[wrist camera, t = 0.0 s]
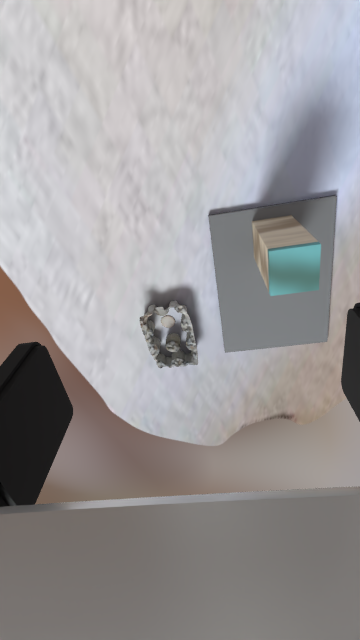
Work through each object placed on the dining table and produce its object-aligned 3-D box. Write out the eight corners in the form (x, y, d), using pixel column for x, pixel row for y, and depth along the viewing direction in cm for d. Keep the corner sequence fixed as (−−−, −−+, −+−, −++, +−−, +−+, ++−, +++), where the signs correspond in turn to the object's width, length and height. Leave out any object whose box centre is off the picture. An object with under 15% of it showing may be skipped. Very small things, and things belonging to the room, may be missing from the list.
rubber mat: (208, 215, 44) (208, 216, 44) (334, 195, 42) (336, 196, 42) (224, 350, 55) (225, 352, 54) (326, 339, 53) (327, 341, 52)
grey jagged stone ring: (140, 303, 52) (136, 316, 48) (188, 296, 51) (188, 309, 47) (156, 358, 57) (153, 374, 53) (199, 353, 56) (199, 368, 52)
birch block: (251, 221, 44) (268, 251, 33) (291, 215, 43) (321, 244, 33) (254, 257, 46) (270, 296, 36) (291, 252, 45) (318, 290, 35)
